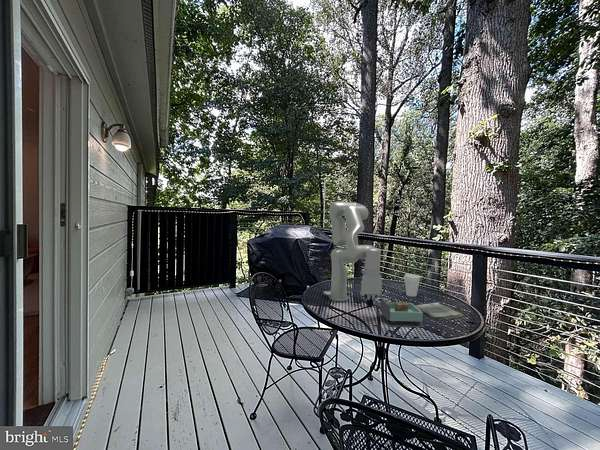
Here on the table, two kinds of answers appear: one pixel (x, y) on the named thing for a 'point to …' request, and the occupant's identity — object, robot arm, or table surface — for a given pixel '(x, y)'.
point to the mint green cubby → (400, 313)
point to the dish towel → (439, 311)
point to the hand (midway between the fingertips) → (369, 306)
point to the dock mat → (401, 323)
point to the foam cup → (412, 284)
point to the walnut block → (401, 307)
